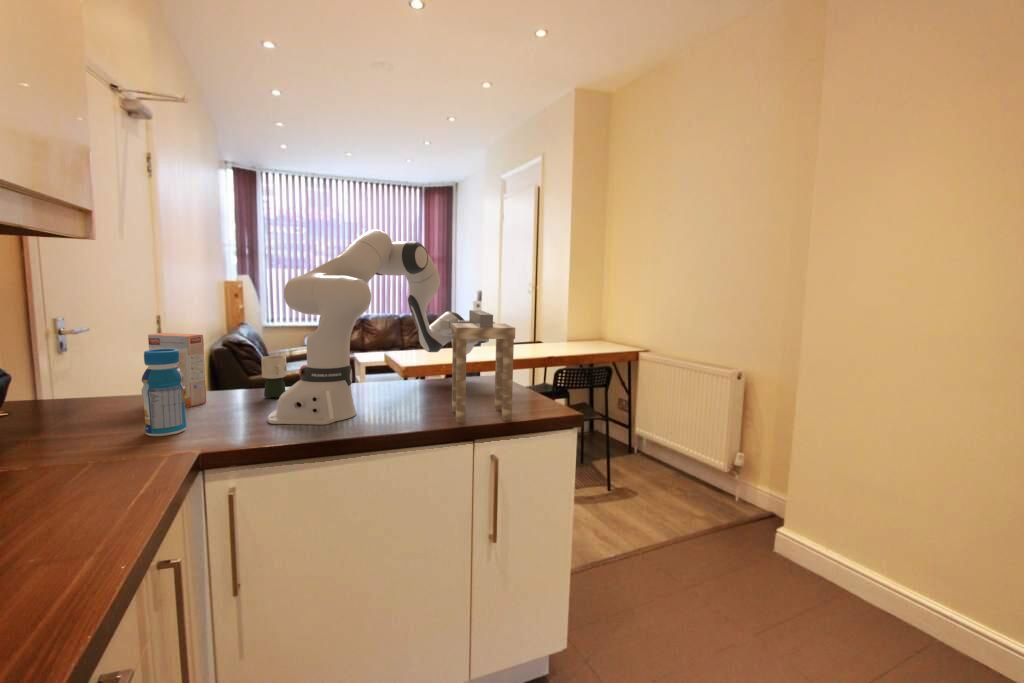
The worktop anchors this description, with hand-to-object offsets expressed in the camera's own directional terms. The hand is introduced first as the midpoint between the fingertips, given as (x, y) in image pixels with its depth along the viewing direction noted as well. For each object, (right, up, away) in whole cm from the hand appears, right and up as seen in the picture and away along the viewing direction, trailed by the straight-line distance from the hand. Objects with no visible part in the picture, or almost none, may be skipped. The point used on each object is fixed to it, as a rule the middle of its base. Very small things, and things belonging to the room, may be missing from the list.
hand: (469, 319), depth 165 cm
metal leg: (+6, -3, -27) cm, 27 cm away
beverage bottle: (-69, -30, -49) cm, 90 cm away
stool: (+6, -29, -28) cm, 40 cm away
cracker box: (-84, -26, -23) cm, 91 cm away
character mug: (-61, -26, -13) cm, 68 cm away
